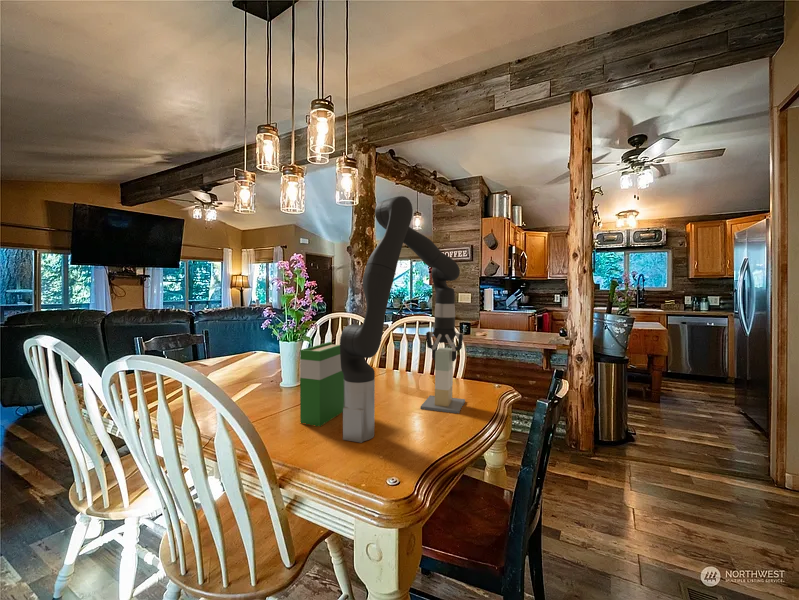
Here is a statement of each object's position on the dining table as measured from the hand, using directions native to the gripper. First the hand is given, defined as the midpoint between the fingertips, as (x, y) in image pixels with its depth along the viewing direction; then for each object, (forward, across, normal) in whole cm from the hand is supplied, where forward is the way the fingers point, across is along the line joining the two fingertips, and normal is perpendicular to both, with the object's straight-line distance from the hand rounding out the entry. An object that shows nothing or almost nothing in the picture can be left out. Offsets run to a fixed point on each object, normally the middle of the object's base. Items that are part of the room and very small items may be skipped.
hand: (444, 360), depth 138 cm
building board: (+17, 0, 0) cm, 17 cm away
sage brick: (+3, 0, 0) cm, 3 cm away
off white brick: (+10, 0, 0) cm, 10 cm away
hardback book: (+17, -36, -25) cm, 47 cm away
